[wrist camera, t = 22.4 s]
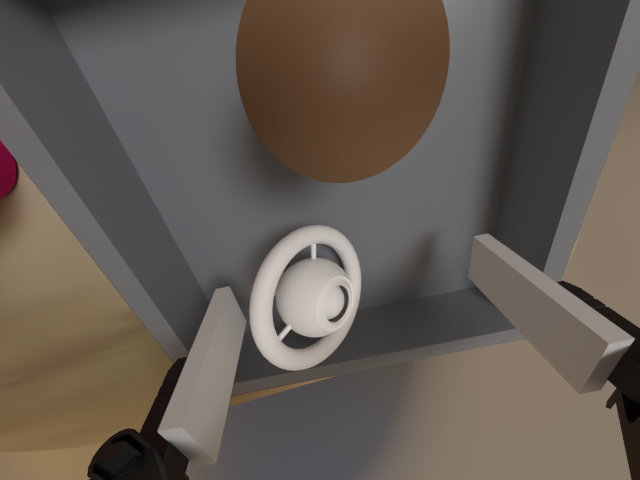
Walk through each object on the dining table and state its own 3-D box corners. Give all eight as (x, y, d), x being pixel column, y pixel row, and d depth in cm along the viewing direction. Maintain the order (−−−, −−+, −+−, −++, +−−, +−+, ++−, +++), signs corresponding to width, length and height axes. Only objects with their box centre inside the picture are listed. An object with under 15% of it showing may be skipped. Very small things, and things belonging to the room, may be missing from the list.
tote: (8, -34, 10) (-211, -133, 6) (575, -166, 10) (806, -383, 5) (221, 338, 21) (202, 401, 17) (489, 285, 21) (540, 335, 16)
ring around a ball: (393, 300, 17) (322, 416, 13) (330, 282, 21) (260, 367, 17) (356, 195, 13) (237, 312, 9) (288, 198, 17) (183, 280, 13)
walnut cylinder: (252, 33, 11) (197, -47, 5) (367, 8, 11) (459, -106, 5) (282, 152, 13) (270, 199, 7) (375, 132, 13) (443, 163, 7)
